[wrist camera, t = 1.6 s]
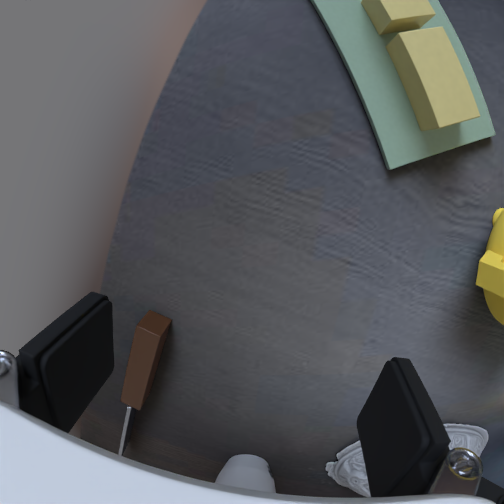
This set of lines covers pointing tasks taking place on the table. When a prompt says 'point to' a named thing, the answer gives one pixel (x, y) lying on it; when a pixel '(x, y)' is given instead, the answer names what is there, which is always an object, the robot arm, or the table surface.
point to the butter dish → (396, 85)
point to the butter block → (432, 78)
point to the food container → (353, 467)
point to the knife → (142, 367)
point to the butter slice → (398, 14)
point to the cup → (247, 473)
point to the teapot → (494, 268)
